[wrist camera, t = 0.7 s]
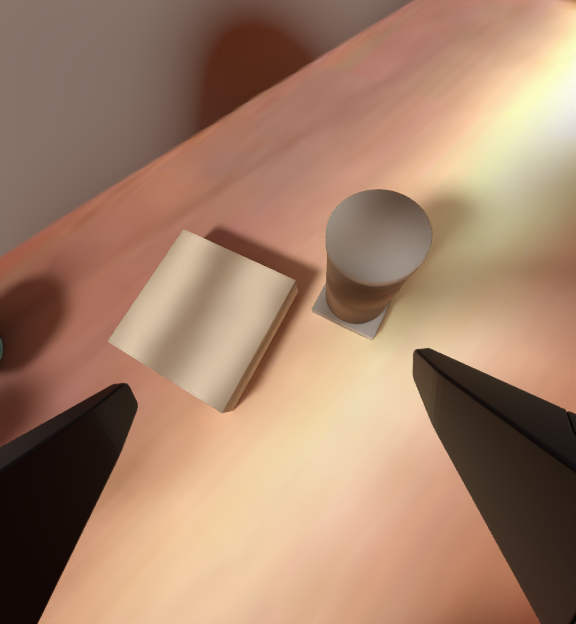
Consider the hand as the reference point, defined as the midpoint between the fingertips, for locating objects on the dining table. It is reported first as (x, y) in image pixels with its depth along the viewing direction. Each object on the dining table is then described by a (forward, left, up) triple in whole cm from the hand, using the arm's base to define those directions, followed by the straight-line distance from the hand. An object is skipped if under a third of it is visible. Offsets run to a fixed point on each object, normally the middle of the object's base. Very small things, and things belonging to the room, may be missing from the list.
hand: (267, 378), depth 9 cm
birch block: (+9, -1, -14) cm, 17 cm away
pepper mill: (-1, -8, -14) cm, 16 cm away
